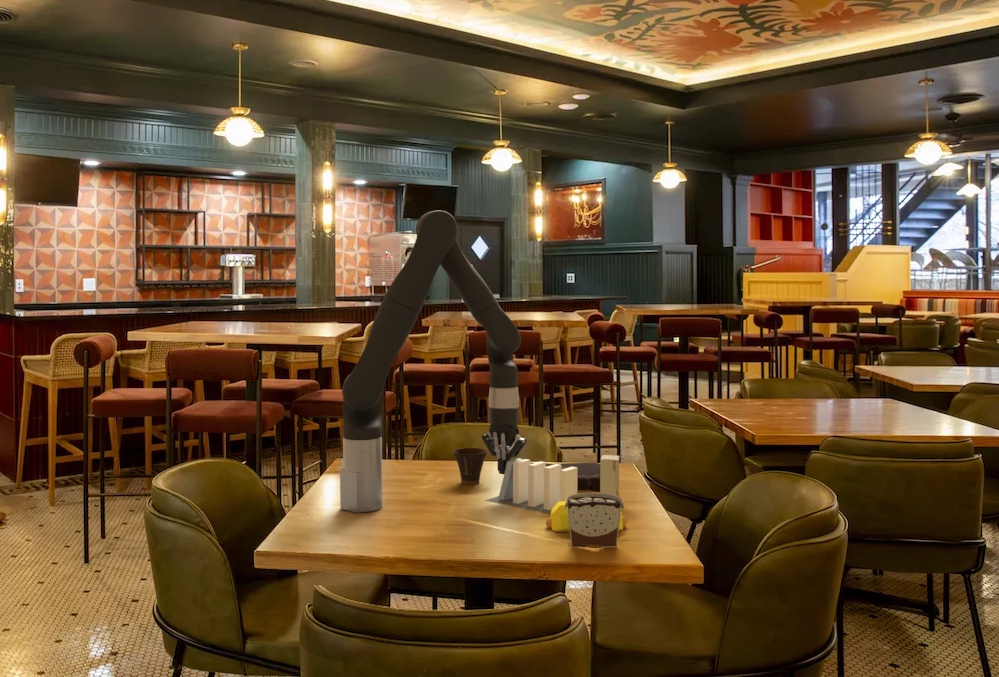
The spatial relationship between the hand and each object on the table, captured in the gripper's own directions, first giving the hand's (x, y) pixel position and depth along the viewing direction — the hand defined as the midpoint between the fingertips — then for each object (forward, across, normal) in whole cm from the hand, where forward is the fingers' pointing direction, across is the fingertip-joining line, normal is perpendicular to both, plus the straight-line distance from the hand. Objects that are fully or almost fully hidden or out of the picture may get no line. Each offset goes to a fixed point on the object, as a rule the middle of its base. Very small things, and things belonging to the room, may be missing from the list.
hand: (503, 473), depth 211 cm
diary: (+7, +2, +22) cm, 23 cm away
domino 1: (+6, +1, 0) cm, 6 cm away
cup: (+7, -17, +7) cm, 19 cm away
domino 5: (+6, +20, 0) cm, 21 cm away
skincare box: (+7, +24, +11) cm, 27 cm away
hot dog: (+7, +30, -9) cm, 32 cm away
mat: (+7, +11, 0) cm, 13 cm away
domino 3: (+6, +10, 0) cm, 12 cm away
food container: (+7, +36, -16) cm, 40 cm away
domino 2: (+6, +6, 0) cm, 8 cm away
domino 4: (+6, +15, 0) cm, 16 cm away
